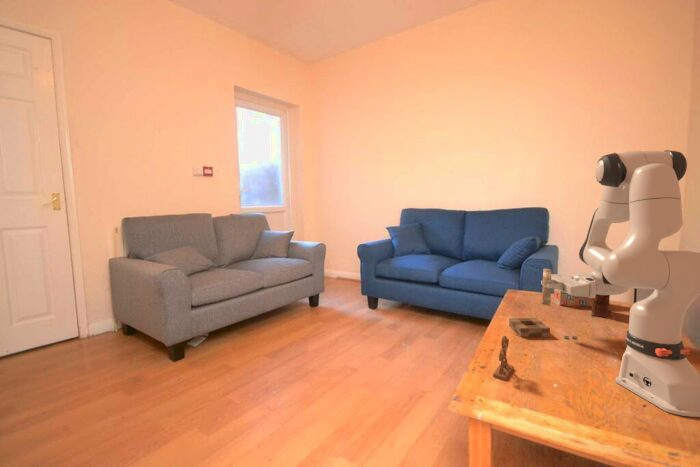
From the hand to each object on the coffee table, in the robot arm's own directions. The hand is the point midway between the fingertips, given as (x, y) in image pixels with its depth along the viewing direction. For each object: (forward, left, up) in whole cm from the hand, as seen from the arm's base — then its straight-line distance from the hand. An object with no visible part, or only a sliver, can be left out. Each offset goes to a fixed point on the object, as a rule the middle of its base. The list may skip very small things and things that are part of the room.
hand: (544, 284), depth 131 cm
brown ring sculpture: (-31, +27, -20) cm, 46 cm away
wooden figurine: (+22, -36, -20) cm, 47 cm away
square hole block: (+2, +5, -20) cm, 21 cm away
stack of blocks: (+36, -35, -20) cm, 54 cm away
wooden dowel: (0, -1, -8) cm, 8 cm away
